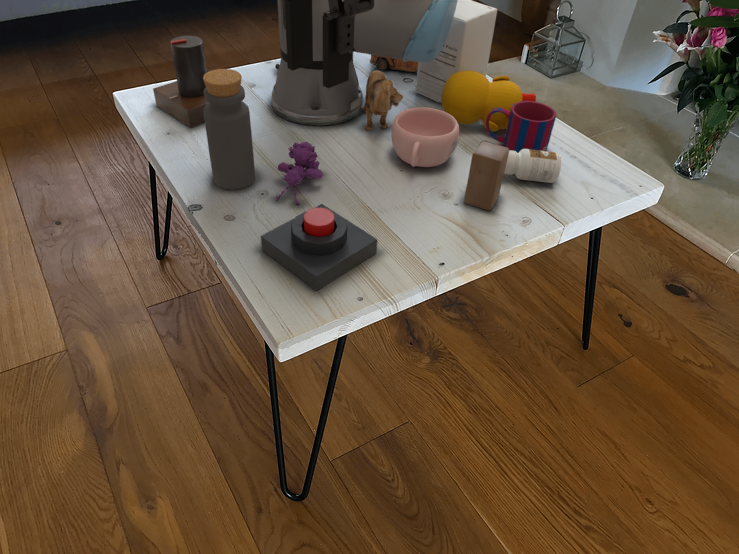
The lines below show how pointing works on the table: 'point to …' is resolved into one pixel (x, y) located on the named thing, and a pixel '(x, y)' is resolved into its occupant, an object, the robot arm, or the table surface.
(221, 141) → the bottle
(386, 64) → the toy car
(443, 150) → the mug
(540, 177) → the pill bottle
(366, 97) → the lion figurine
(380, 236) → the table surface
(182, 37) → the dial
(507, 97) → the toy
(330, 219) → the switch
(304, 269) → the switch base
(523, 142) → the cup
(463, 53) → the white product box
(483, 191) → the wooden block
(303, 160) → the purple lumpy piece
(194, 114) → the dial panel
